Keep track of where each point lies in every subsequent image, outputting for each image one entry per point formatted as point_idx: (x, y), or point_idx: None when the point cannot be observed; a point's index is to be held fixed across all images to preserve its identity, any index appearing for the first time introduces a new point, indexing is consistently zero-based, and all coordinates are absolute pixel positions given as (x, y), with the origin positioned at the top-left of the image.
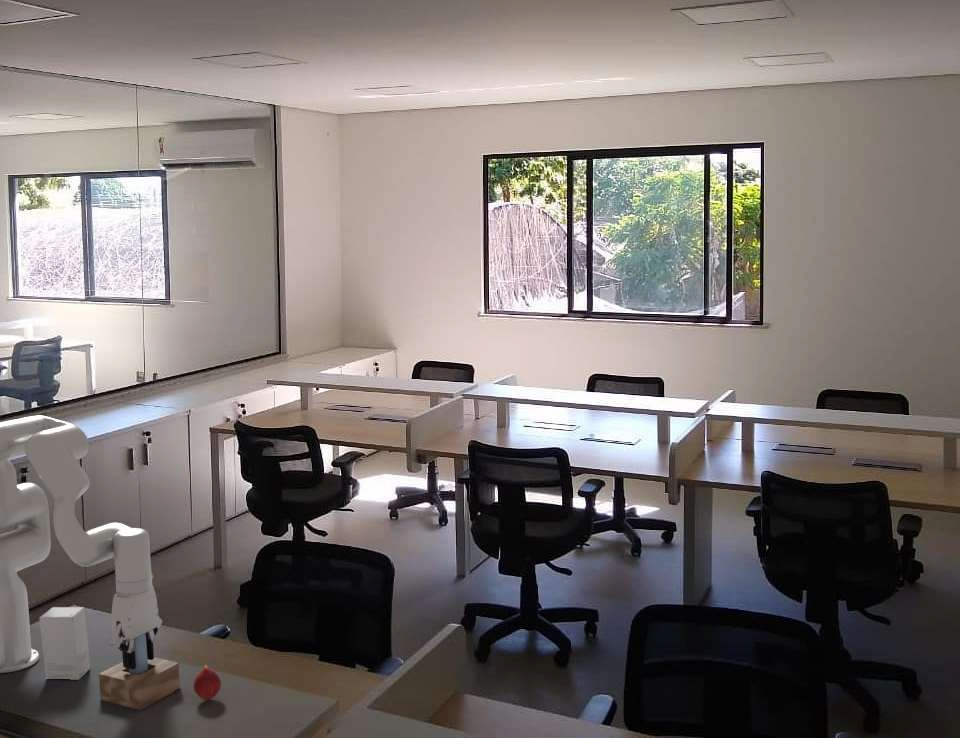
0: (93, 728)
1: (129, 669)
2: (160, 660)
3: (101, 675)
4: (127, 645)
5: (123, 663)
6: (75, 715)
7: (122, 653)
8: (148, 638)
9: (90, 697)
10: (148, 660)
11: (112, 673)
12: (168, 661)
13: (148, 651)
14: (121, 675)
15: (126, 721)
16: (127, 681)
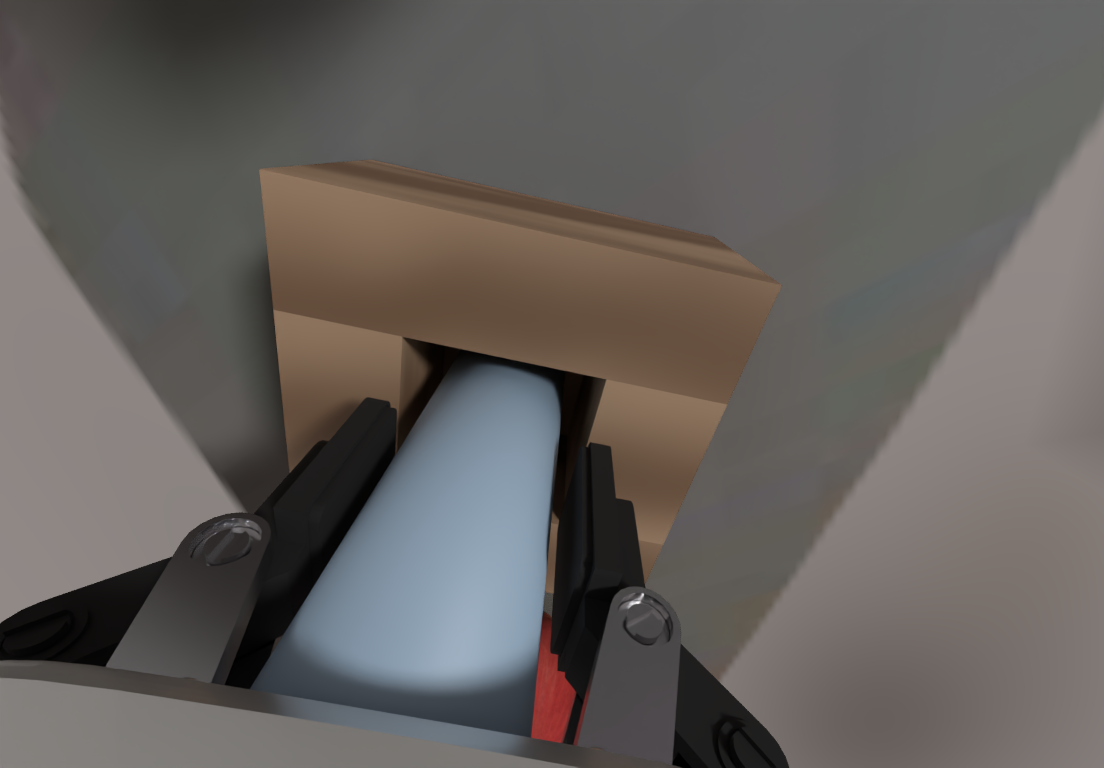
0: (123, 338)
1: (432, 399)
2: (653, 508)
3: (268, 205)
4: (336, 560)
5: (317, 444)
6: (141, 137)
7: (298, 477)
8: (583, 689)
9: (367, 55)
10: (640, 435)
11: (327, 297)
12: (644, 556)
13: (558, 565)
14: (333, 387)
15: (259, 437)
16: (289, 466)
